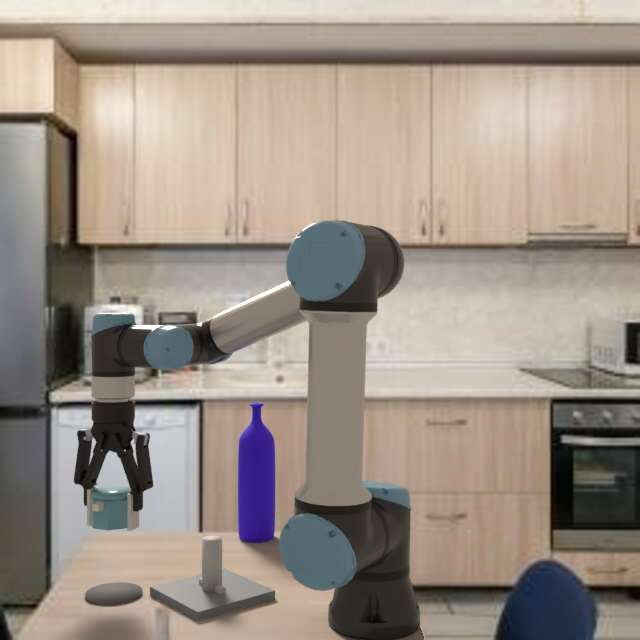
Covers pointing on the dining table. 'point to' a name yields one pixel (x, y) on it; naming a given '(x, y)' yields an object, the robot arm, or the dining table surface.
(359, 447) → the robot arm
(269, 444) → the bottle
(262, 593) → the stand
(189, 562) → the dining table surface
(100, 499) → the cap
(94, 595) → the mat
